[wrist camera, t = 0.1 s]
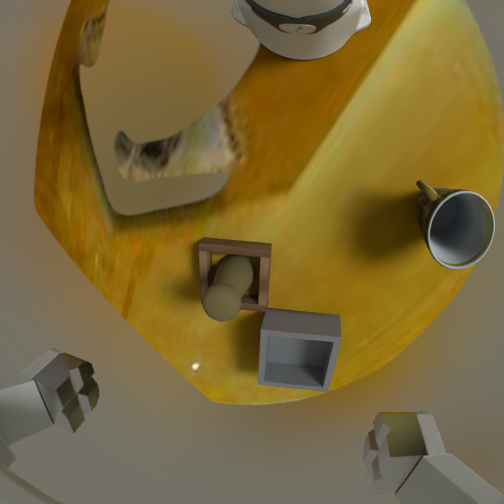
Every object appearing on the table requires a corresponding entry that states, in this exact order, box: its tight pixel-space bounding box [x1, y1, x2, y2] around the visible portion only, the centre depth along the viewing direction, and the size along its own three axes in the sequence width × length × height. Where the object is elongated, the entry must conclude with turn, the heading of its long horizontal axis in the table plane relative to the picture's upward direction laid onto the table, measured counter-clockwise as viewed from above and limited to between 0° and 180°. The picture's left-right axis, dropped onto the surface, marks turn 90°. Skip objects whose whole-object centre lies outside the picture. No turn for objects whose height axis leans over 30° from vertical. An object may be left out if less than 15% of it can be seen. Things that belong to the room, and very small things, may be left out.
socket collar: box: [199, 238, 272, 312], centre depth 49 cm, size 10×10×2 cm
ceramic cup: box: [416, 180, 495, 270], centre depth 36 cm, size 13×10×10 cm
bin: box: [258, 308, 342, 391], centre depth 51 cm, size 12×12×6 cm
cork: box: [202, 254, 256, 321], centre depth 45 cm, size 6×6×11 cm
